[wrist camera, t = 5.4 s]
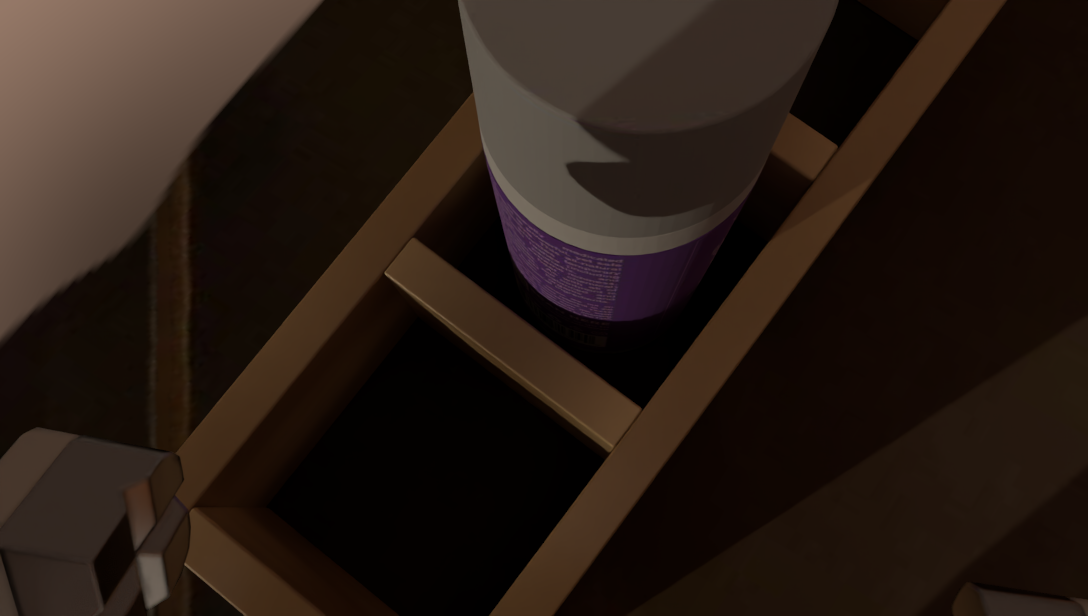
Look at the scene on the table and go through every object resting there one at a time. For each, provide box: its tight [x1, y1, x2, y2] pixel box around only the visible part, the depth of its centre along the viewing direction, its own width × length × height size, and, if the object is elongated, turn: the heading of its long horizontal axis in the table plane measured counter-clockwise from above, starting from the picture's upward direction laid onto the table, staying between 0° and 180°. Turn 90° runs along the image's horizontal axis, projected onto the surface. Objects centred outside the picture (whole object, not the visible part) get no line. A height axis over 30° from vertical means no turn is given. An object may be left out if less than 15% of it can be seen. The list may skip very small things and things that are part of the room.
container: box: [458, 0, 839, 354], centre depth 19 cm, size 5×5×15 cm
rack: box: [175, 0, 1007, 616], centre depth 24 cm, size 8×22×5 cm, turn 142°
